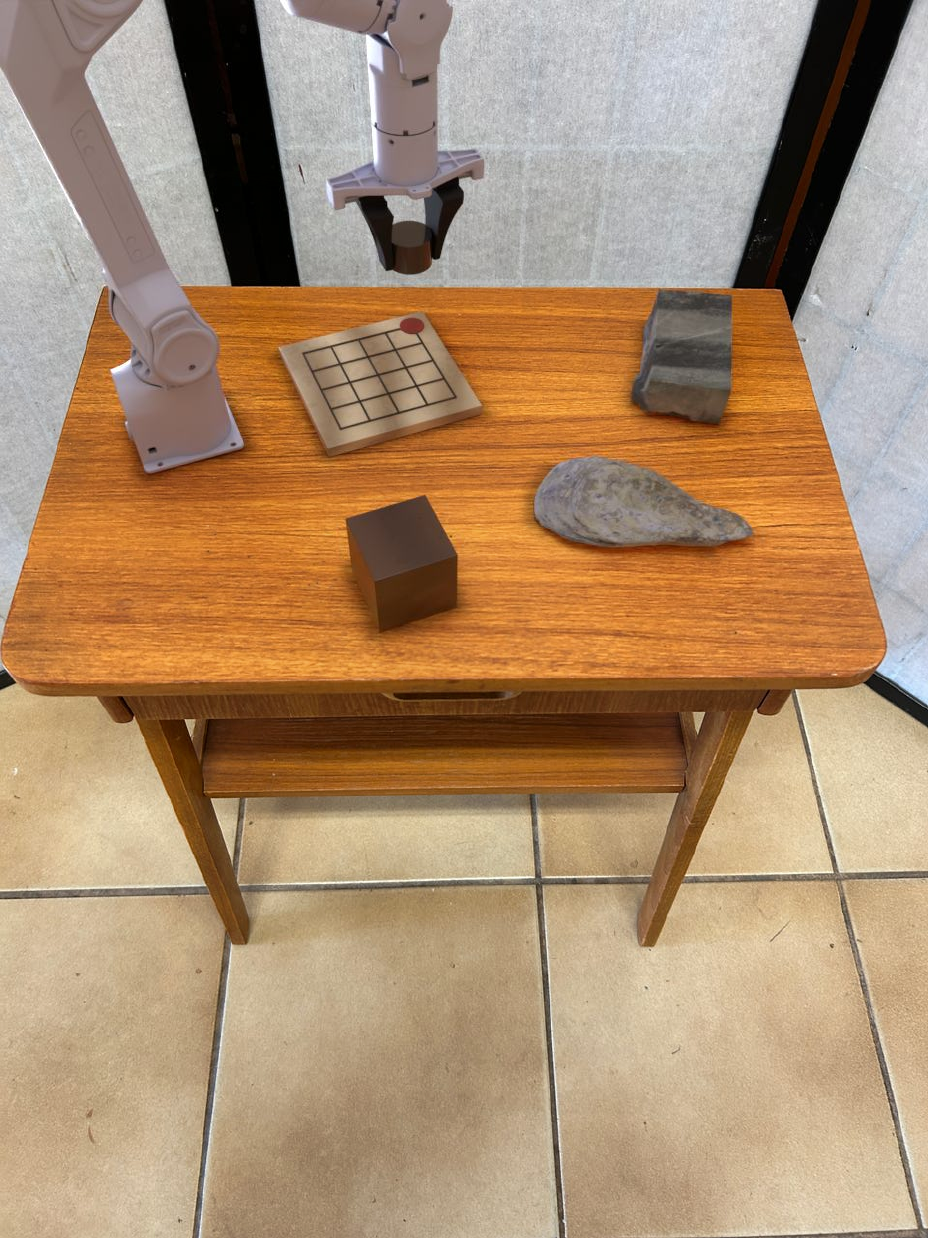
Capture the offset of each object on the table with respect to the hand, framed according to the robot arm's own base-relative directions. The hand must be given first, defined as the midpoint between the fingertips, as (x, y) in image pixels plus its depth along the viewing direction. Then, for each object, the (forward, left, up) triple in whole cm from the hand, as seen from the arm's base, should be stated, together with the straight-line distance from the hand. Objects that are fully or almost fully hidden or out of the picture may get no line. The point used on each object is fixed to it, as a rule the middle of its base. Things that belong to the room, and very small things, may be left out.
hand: (409, 259), depth 93 cm
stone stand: (-13, -30, -10) cm, 34 cm away
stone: (+10, -31, -10) cm, 34 cm away
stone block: (+24, -15, -10) cm, 30 cm away
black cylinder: (0, 0, 0) cm, 0 cm away
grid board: (-6, -5, -10) cm, 12 cm away
